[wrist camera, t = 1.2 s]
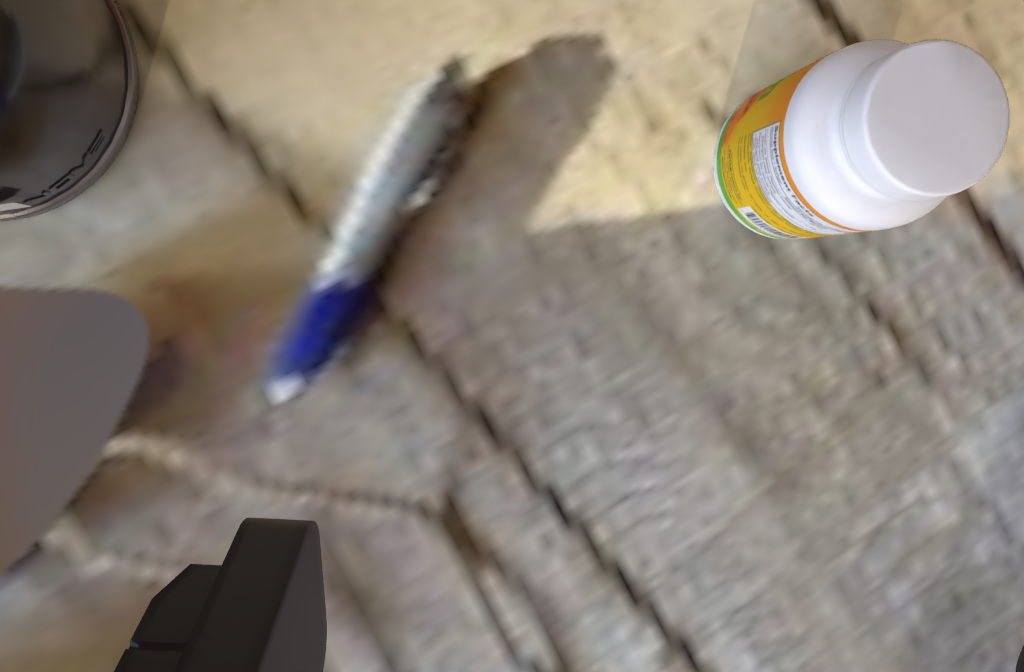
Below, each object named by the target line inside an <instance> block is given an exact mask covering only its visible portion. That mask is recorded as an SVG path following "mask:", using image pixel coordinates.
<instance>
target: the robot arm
mask: <svg viewBox="0 0 1024 672" xmlns="http://www.w3.org/2000/svg"><path fill="white" fill-rule="evenodd" d="M138 87H139V80H138V65H137V57H136V52H135V48H134V44H133V40H132V37H131V34H130V31H129V28H128V26H127V24H126V21H125V19H124V17H123V15H122V13H121V11H120V9H119V8H118V6H117V4H116V2H115V1H114V0H0V221H8V220H17V219H22V218H27V217H31V216H35V215H38V214H42V213H45V212H47V211H50V210H52V209H55V208H57V207H59V206H61V205H63V204H65V203H67V202H69V201H71V200H72V199H74V198H75V197H77V196H78V195H80V194H81V193H83V192H84V191H85V190H86V189H88V188H89V187H90V186H91V185H93V184H94V183H95V182H96V181H97V180H98V179H99V178H100V177H101V176H102V175H103V174H104V172H105V171H106V170H107V169H108V168H109V166H110V165H111V164H112V162H113V161H114V159H115V158H116V156H117V155H118V153H119V152H120V150H121V148H122V146H123V144H124V142H125V141H126V138H127V136H128V133H129V131H130V128H131V126H132V122H133V119H134V115H135V111H136V105H137V99H138ZM326 640H327V621H326V608H325V596H324V584H323V572H322V560H321V548H320V536H319V530H318V526H317V523H316V522H315V521H306V520H286V519H265V518H246V519H245V520H244V521H243V522H242V523H241V525H240V527H239V529H238V531H237V533H236V535H235V537H234V540H233V542H232V544H231V546H230V549H229V551H228V553H227V555H226V557H225V560H224V562H223V564H222V566H221V565H201V564H190V565H189V566H188V567H187V568H186V569H184V570H183V571H182V572H181V573H180V574H179V575H178V576H177V577H176V578H175V579H173V580H172V581H171V582H170V583H169V584H168V585H167V586H166V587H165V588H163V589H162V590H161V591H160V592H159V593H158V594H157V595H156V596H155V597H154V598H152V600H151V602H150V604H149V606H148V608H147V610H146V612H145V613H144V615H143V617H142V619H141V621H140V623H139V625H138V627H137V629H136V631H135V632H134V634H133V636H132V638H131V640H130V647H129V649H126V650H125V652H124V653H123V655H122V657H121V659H120V661H119V663H118V665H117V667H116V669H115V671H114V672H323V667H324V661H325V652H326ZM1016 672H1024V646H1023V649H1022V651H1021V653H1020V656H1019V658H1018V662H1017V666H1016Z"/></svg>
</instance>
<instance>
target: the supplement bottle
mask: <svg viewBox="0 0 1024 672" xmlns="http://www.w3.org/2000/svg"><path fill="white" fill-rule="evenodd" d="M1008 130H1009V104H1008V98H1007V94H1006V91H1005V89H1004V86H1003V83H1002V81H1001V79H1000V77H999V75H998V74H997V72H996V71H995V69H994V68H993V67H992V66H991V65H990V63H989V62H988V61H987V60H986V59H985V58H984V57H983V56H981V55H980V54H979V53H977V52H976V51H974V50H973V49H971V48H969V47H967V46H965V45H963V44H960V43H957V42H954V41H949V40H938V39H935V40H925V41H920V42H915V43H913V44H910V45H909V44H906V43H903V42H899V41H892V40H870V41H864V42H860V43H855V44H852V45H849V46H847V47H844V48H842V49H840V50H837V51H835V52H833V53H831V54H829V55H827V56H825V57H824V58H822V59H820V60H818V61H816V62H814V63H812V64H810V65H808V66H806V67H804V68H803V69H801V70H799V71H797V72H795V73H793V74H791V75H790V76H788V77H786V78H784V79H782V80H780V81H778V82H776V83H775V84H773V85H771V86H769V87H767V88H765V89H764V90H762V91H759V92H758V93H756V94H754V95H753V96H751V97H750V98H748V99H747V100H745V101H744V102H743V103H742V104H740V105H739V106H738V107H737V108H736V109H735V110H734V111H733V112H732V114H731V115H730V116H729V117H728V119H727V120H726V122H725V123H724V125H723V127H722V129H721V131H720V133H719V136H718V139H717V142H716V146H715V151H714V177H715V182H716V186H717V189H718V192H719V194H720V197H721V199H722V201H723V202H724V204H725V206H726V207H727V209H728V210H729V211H730V213H731V214H732V215H733V216H734V217H735V218H736V219H737V220H738V221H739V222H740V223H742V224H743V225H744V226H746V227H747V228H749V229H750V230H752V231H754V232H756V233H758V234H761V235H763V236H767V237H771V238H776V239H804V238H814V237H822V236H832V235H841V234H850V233H860V232H870V231H877V230H883V229H889V228H894V227H898V226H901V225H904V224H907V223H910V222H912V221H915V220H917V219H919V218H920V217H922V216H924V215H926V214H927V213H929V212H930V211H932V210H933V209H934V208H935V207H936V206H938V205H939V204H940V203H941V202H942V201H943V200H944V199H945V198H946V197H947V196H948V195H952V194H955V193H958V192H961V191H963V190H965V189H967V188H969V187H971V186H972V185H974V184H975V183H977V182H978V181H980V180H981V179H982V178H983V177H984V176H985V175H986V174H987V173H988V172H989V171H990V170H991V168H992V167H993V166H994V164H995V163H996V162H997V160H998V158H999V157H1000V155H1001V153H1002V150H1003V148H1004V145H1005V142H1006V139H1007V135H1008Z"/></svg>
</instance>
